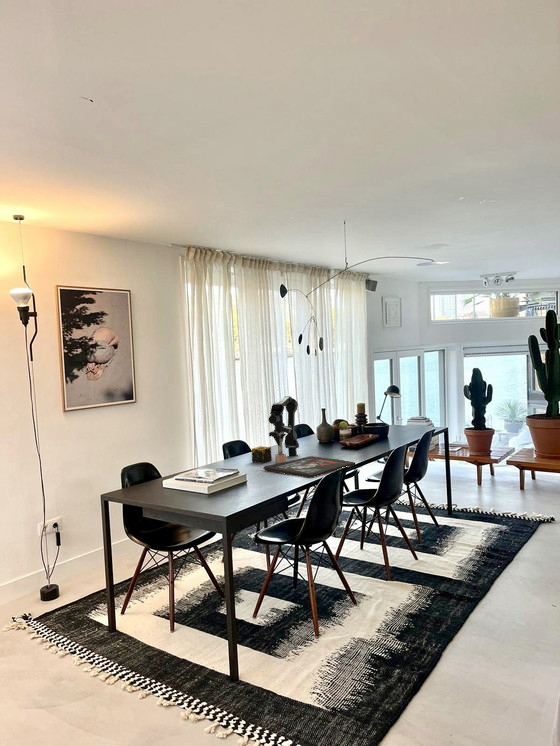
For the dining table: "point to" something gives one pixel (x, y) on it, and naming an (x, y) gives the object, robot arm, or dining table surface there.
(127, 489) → the dining table surface
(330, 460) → the religious icon
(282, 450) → the birch pin
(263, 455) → the candle
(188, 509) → the dining table surface
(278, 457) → the terracotta cup
